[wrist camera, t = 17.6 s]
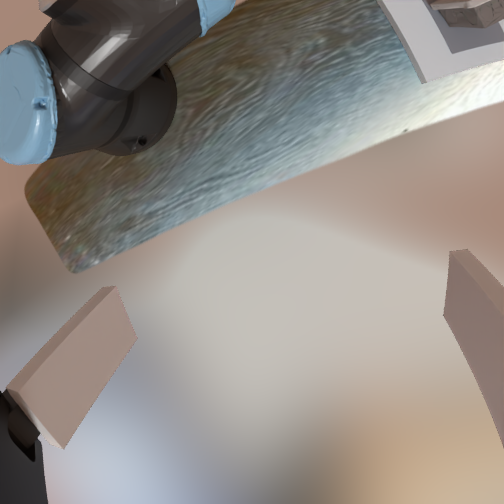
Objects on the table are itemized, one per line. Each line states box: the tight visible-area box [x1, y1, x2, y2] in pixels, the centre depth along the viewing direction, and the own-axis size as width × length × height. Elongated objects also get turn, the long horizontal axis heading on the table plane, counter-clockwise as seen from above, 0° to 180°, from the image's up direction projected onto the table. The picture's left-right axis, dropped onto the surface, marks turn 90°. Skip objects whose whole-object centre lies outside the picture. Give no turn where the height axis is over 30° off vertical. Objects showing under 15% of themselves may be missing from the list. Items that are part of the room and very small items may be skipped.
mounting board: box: [376, 0, 504, 84], centre depth 26 cm, size 22×16×2 cm
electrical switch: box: [430, 0, 504, 29], centre depth 21 cm, size 9×5×9 cm, turn 128°
